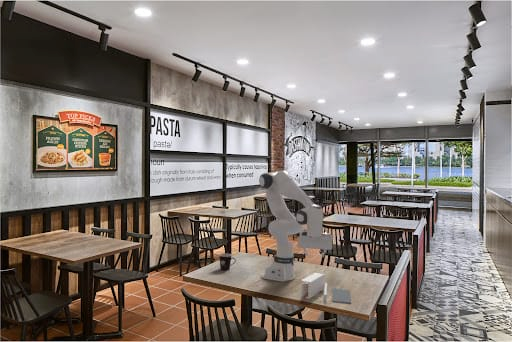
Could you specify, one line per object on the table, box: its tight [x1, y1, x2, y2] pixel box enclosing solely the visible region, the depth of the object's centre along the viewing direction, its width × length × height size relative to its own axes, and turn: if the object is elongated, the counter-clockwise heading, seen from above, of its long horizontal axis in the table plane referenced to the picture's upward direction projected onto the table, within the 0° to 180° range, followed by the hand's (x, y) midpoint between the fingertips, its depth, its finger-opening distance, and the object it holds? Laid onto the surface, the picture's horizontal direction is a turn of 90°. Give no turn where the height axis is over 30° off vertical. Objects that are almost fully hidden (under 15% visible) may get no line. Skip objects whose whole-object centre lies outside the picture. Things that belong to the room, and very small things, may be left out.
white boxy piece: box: [300, 272, 325, 300], centre depth 205 cm, size 20×6×9 cm, turn 145°
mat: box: [332, 288, 352, 304], centre depth 201 cm, size 10×20×1 cm, turn 167°
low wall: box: [323, 282, 328, 302], centre depth 203 cm, size 1×20×4 cm, turn 167°
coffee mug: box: [218, 253, 237, 271], centre depth 247 cm, size 12×9×10 cm
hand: (314, 256), depth 205 cm, fingers open, 8 cm apart
